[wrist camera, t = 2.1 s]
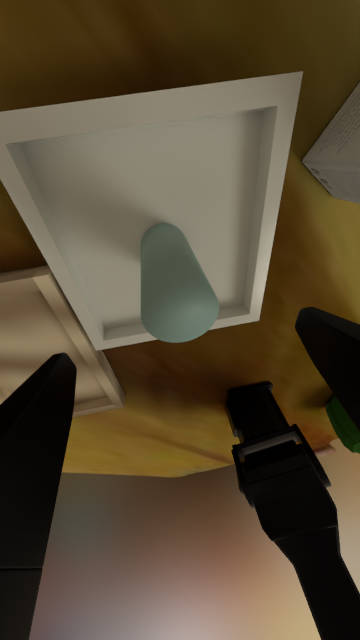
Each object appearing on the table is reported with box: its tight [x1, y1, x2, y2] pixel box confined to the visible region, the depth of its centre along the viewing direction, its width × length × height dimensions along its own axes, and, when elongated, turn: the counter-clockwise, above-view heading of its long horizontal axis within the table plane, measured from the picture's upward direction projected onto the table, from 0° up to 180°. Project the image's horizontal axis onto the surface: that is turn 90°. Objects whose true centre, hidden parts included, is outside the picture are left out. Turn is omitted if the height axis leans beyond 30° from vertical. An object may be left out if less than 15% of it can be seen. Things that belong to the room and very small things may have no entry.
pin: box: [141, 223, 219, 343], centre depth 12 cm, size 3×3×8 cm
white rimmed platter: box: [0, 71, 303, 351], centre depth 15 cm, size 15×15×2 cm
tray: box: [0, 265, 125, 417], centre depth 20 cm, size 18×12×2 cm, turn 6°
